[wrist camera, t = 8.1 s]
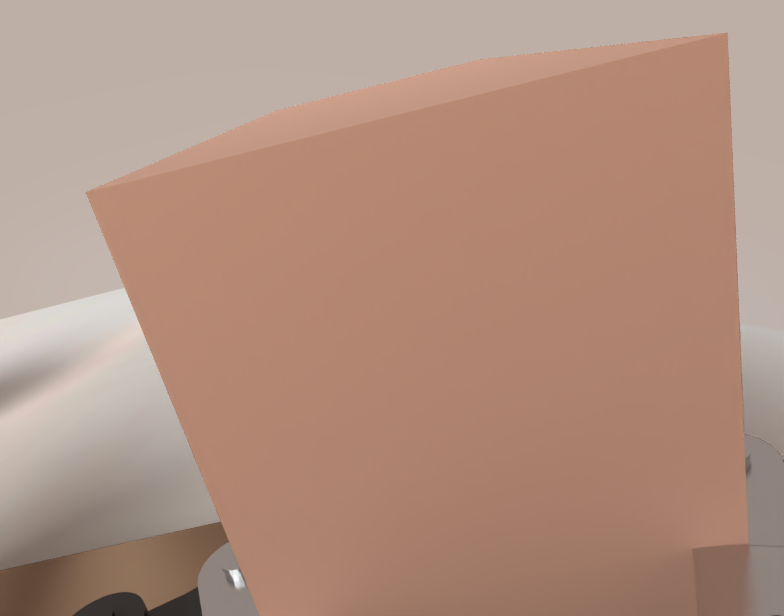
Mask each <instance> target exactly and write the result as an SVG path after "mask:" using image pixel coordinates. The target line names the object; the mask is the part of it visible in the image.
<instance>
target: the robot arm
mask: <svg viewBox="0 0 784 616" xmlns="http://www.w3.org/2000/svg"><path fill="white" fill-rule="evenodd" d="M744 443H745V467H746V491H747V515H748V540H749V544H741V545H720V546H709V547H700V548H693V549H692V550H693V562H694V574H695V587H696V599H697V611H698V616H784V460H783V459H782V457H781V455H780V454H779V452H778V451H777V450H776V449H775V448H774V447H772V446H771V445H770V444H768V443H766V442H764V441H763V440H760V439H758V438H755V437H752V436H749V435H745V434H744ZM72 616H260V615H259V613H258V611H257V608H256V606H255V603H254V601H253V598H252V596H251V594H250V591H249V589H248V586H247V584H246V581H245V579H244V577H243V574H242V572H241V569H240V567H239V564H238V562H237V559H236V557H235V555H234V552H233V550H232V547H231V545H230V542H228V543H226V544H225V545H223V546H222V547H220V548H219V549H218V550H216V551H215V552H214V553H213V554H212V555H211V556H210V557H209V558H208V559H207V561H206V562H205V563H204V565H203V567H202V568H201V570H200V573H199V576H198V587H196V588H195V589H193V590H191V591H189V592H187V593H186V594H184V595H182V596H179V597H177V598H175V599H173V600H171V601H169V602H166V603H164V604H162V605H160V606H158V607H156V608H153V609H151V610H149V611H148V609H147V607H146V605H145V603H144V601H143V599H142V598H141V597H140V596H139V595H137V594H135V593H131V592H118V593H113V594H109V595H107V596H104V597H101V598H99V599H97V600H95V601H93V602H91V603H89V604H88V605H86V606H84V607H83V608H82V609H80V610H79V611H77V612H76V613H75V614H74V615H72Z"/></svg>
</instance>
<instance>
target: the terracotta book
mask: <svg viewBox="0 0 784 616" xmlns="http://www.w3.org/2000/svg"><path fill="white" fill-rule="evenodd" d="M732 153H733V152H732V128H731V105H730V80H729V57H728V34H727V33H720V34H711V35H701V36H692V37H683V38H674V39H664V40H656V41H646V42H637V43H628V44H618V45H610V46H600V47H591V48H582V49H572V50H563V51H553V52H544V53H535V54H526V55H517V56H507V57H498V58H489V59H480V60H476V61H472V62H468V63H464V64H460V65H456V66H452V67H448V68H444V69H440V70H436V71H432V72H428V73H424V74H420V75H416V76H412V77H408V78H404V79H400V80H397V81H392V82H389V83H384V84H381V85H376V86H372V87H368V88H364V89H361V90H357V91H352V92H348V93H345V94H341V95H337V96H333V97H329V98H325V99H321V100H317V101H313V102H309V103H305V104H301V105H297V106H293V107H289V108H285V109H281V110H277V111H275V112H272V113H270V114H268V115H265V116H263V117H261V118H259V119H256V120H254V121H252V122H249V123H247V124H244V125H242V126H240V127H237V128H235V129H233V130H230V131H228V132H226V133H223V134H221V135H219V136H216V137H214V138H212V139H209V140H207V141H205V142H202V143H200V144H198V145H195V146H193V147H191V148H188V149H186V150H184V151H181V152H179V153H177V154H174V155H172V156H170V157H167V158H165V159H163V160H160V161H158V162H156V163H153V164H151V165H149V166H146V167H144V168H142V169H139V170H137V171H135V172H132V173H130V174H128V175H125V176H123V177H121V178H118V179H116V180H113V181H111V182H109V183H107V184H104V185H102V186H100V187H97V188H95V189H92V190H90V191H88V192H86V194H87V196H88V199H89V201H90V204H91V206H92V208H93V211H94V213H95V216H96V218H97V221H98V223H99V226H100V228H101V231H102V233H103V235H104V238H105V240H106V243H107V245H108V247H109V250H110V252H111V255H112V257H113V260H114V262H115V265H116V267H117V269H118V272H119V274H120V277H121V279H122V282H123V284H124V287H125V289H126V291H127V294H128V296H129V299H130V301H131V304H132V306H133V309H134V311H135V313H136V316H137V318H138V321H139V323H140V326H141V328H142V330H143V333H144V335H145V338H146V340H147V343H148V345H149V348H150V350H151V352H152V355H153V357H154V360H155V362H156V365H157V367H158V369H159V372H160V374H161V377H162V379H163V382H164V384H165V386H166V389H167V391H168V394H169V396H170V399H171V401H172V404H173V406H174V408H175V411H176V413H177V416H178V418H179V421H180V423H181V425H182V428H183V430H184V433H185V435H186V438H187V440H188V443H189V445H190V447H191V450H192V452H193V455H194V457H195V460H196V462H197V464H198V467H199V469H200V472H201V474H202V477H203V479H204V482H205V484H206V486H207V489H208V491H209V494H210V496H211V499H212V501H213V503H214V506H215V508H216V511H217V513H218V516H219V518H220V520H221V523H222V525H223V528H224V530H225V533H226V535H227V538H228V540H229V542H230V545H231V547H232V550H233V552H234V555H235V557H236V559H237V562H238V564H239V567H240V569H241V572H242V574H243V577H244V579H245V581H246V584H247V586H248V589H249V591H250V594H251V596H252V598H253V601H254V603H255V606H256V608H257V611H258V613H259V615H260V616H698V611H697V599H696V587H695V574H694V562H693V550H692V549H693V548H700V547H709V546H720V545H741V544H749V540H748V515H747V491H746V467H745V443H744V419H743V394H742V370H741V346H740V322H739V298H738V273H737V249H736V225H735V203H734V202H735V201H734V177H733V154H732Z"/></svg>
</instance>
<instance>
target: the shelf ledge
mask: <svg viewBox="0 0 784 616" xmlns="http://www.w3.org/2000/svg"><path fill="white" fill-rule="evenodd" d="M228 542H229V540H228V538H227V535H226V533H225V530H224V528H223V525H222V523H221V522H218V523H213V524H209V525H204V526H200V527H195V528H191V529H186V530H182V531H177V532H173V533H168V534H163V535H159V536H154V537H150V538H145V539H141V540H136V541H132V542H127V543H123V544H118V545H113V546H109V547H104V548H100V549H95V550H91V551H86V552H82V553H77V554H73V555H68V556H63V557H59V558H54V559H50V560H45V561H41V562H36V563H32V564H27V565H23V566H18V567H14V568H9V569H4V570H0V616H72V615H74V614H75V613H76V612H77V611H79V610H80V609H82V608H83V607H84V606H86V605H88V604H89V603H91V602H93V601H95V600H97V599H99V598H101V597H104V596H107V595H109V594H113V593H118V592H131V593H135V594H137V595H139V596H140V597H141V598H142V599H143V601H144V603H145V605H146V607H147V609H148V611H149V610H151V609H153V608H156V607H158V606H160V605H162V604H164V603H166V602H169V601H171V600H173V599H175V598H177V597H179V596H182V595H184V594H186V593H187V592H189V591H191V590H193V589H195V588H196V587H198V576H199V573H200V570H201V568H202V567H203V565H204V563H205V562H206V561H207V559H208V558H209V557H210V556H211V555H212V554H213V553H214V552H215V551H216V550H218V549H219V548H220V547H222V546H223V545H225V544H226V543H228Z"/></svg>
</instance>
